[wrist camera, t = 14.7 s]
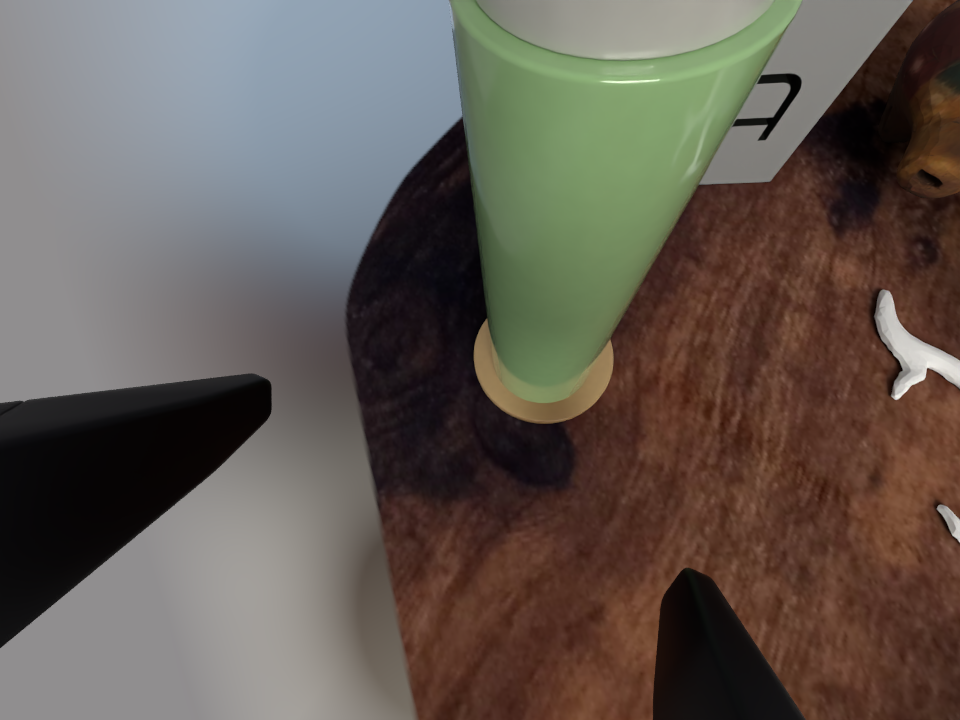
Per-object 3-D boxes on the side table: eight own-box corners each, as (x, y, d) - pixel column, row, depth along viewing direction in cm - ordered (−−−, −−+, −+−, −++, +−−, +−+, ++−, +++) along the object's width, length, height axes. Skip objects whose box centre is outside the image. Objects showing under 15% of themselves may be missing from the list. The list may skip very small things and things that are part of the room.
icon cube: (596, 188, 24) (650, -14, 15) (584, 75, 28) (621, -146, 18) (769, 181, 24) (941, -36, 14) (734, 66, 27) (852, -168, 18)
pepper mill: (576, 417, 19) (917, -67, 3) (477, 384, 20) (347, -121, 4) (603, 326, 20) (921, -309, 5) (510, 300, 21) (510, -306, 6)
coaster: (504, 445, 19) (504, 443, 19) (455, 324, 22) (454, 320, 21) (636, 392, 20) (639, 389, 19) (574, 279, 22) (575, 274, 22)
